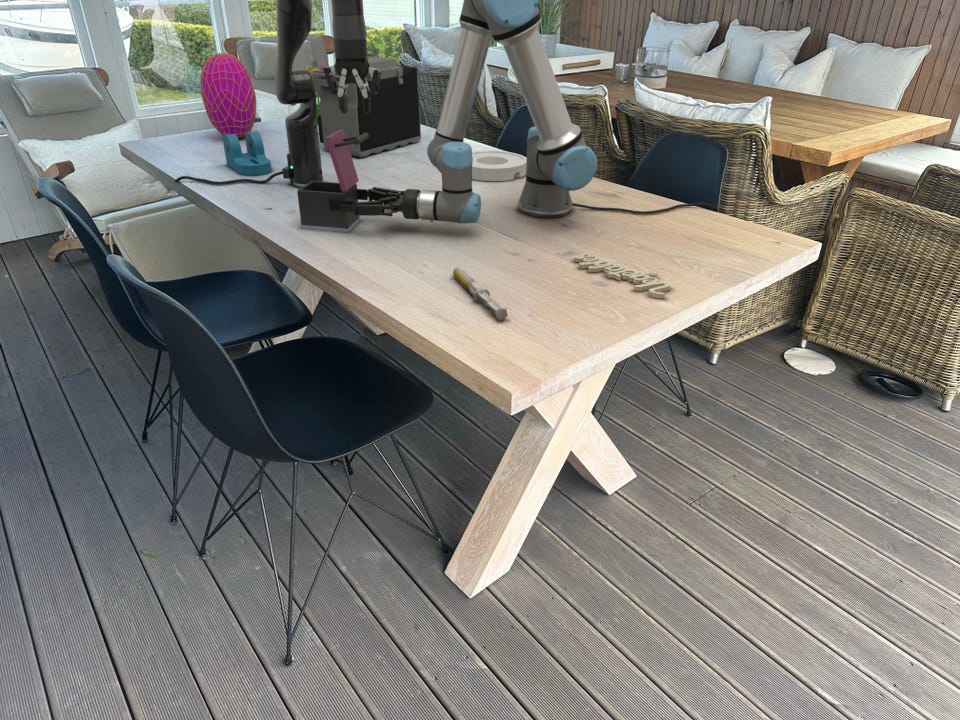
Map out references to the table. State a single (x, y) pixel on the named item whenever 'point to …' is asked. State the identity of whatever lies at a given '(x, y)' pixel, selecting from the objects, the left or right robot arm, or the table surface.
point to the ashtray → (497, 165)
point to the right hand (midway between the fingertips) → (336, 198)
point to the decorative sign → (625, 274)
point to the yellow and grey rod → (479, 293)
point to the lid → (344, 157)
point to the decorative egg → (228, 95)
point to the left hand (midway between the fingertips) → (355, 113)
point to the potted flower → (314, 68)
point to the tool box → (373, 109)
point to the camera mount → (246, 154)
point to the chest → (325, 207)
